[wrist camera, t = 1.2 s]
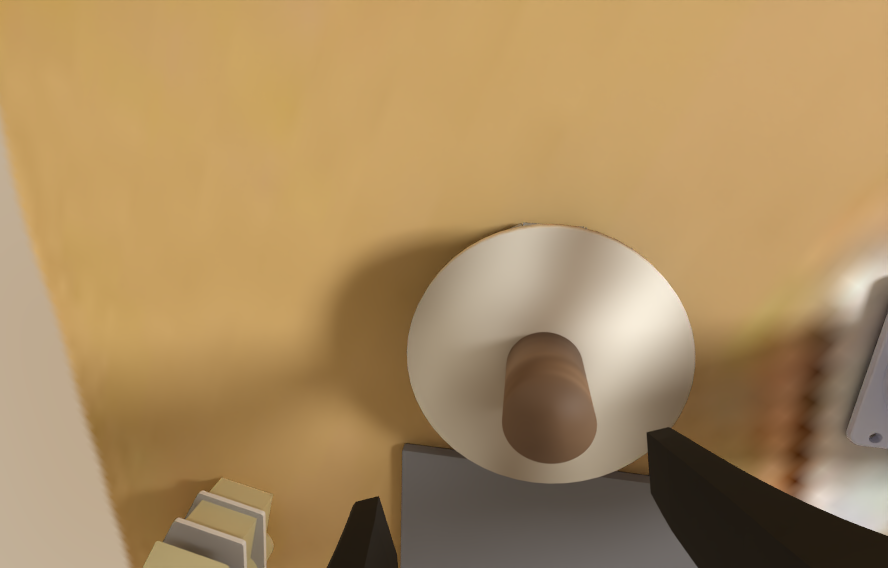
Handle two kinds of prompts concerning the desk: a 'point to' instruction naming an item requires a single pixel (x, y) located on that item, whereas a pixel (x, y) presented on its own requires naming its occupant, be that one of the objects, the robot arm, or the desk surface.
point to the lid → (550, 353)
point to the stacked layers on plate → (219, 531)
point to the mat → (527, 519)
